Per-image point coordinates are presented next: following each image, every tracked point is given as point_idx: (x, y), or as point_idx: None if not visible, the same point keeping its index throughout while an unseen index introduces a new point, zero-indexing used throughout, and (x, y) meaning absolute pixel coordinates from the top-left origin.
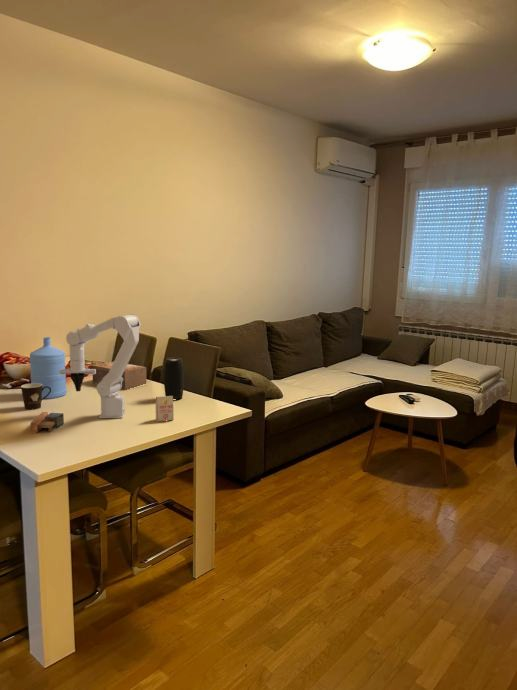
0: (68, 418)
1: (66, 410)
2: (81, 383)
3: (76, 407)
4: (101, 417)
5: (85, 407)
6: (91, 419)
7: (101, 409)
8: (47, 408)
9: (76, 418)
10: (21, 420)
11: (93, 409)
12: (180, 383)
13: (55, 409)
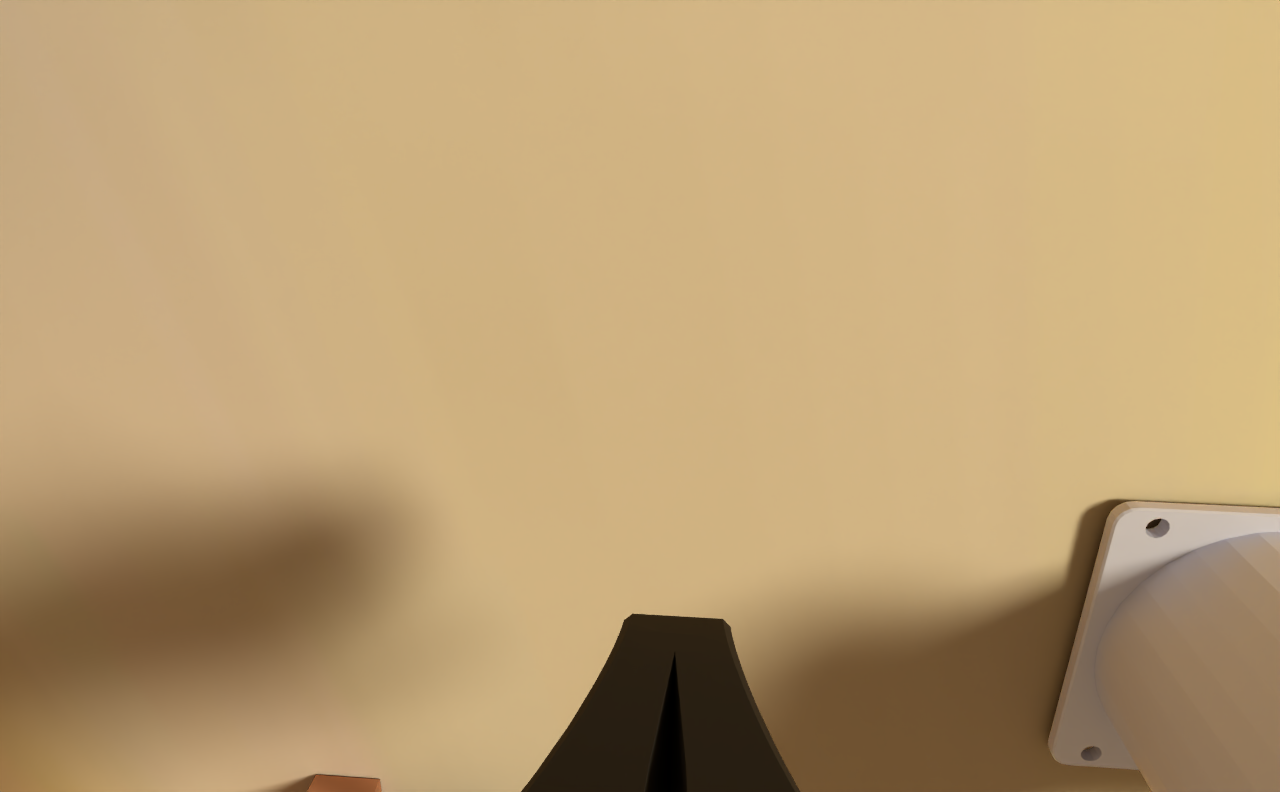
0: None
1: (429, 265)
2: (775, 790)
3: (558, 49)
4: (1094, 766)
5: (749, 61)
6: (938, 758)
7: (1149, 784)
8: (15, 93)
9: None
10: (16, 695)
11: (934, 233)
12: None
13: (200, 179)
